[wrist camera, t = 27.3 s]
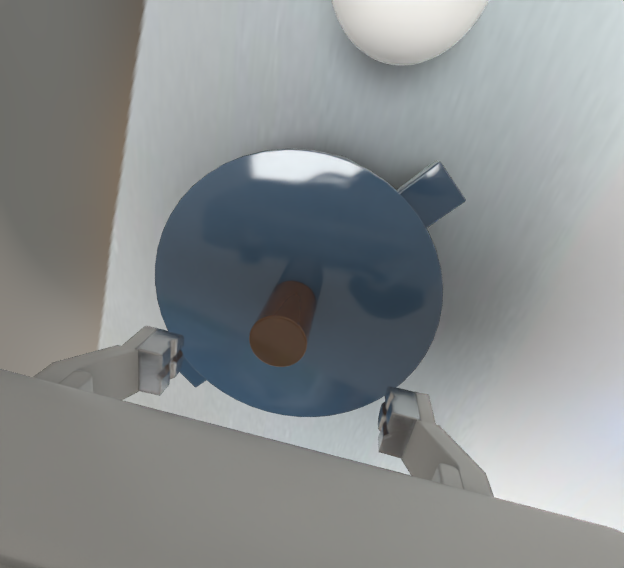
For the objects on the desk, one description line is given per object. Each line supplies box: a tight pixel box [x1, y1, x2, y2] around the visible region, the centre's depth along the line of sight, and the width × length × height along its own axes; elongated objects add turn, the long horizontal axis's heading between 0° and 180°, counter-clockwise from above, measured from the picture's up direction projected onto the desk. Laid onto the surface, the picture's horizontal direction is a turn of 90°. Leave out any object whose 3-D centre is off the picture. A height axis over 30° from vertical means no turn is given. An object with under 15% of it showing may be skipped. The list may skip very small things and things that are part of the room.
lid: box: [155, 148, 443, 417], centre depth 19 cm, size 16×16×5 cm
